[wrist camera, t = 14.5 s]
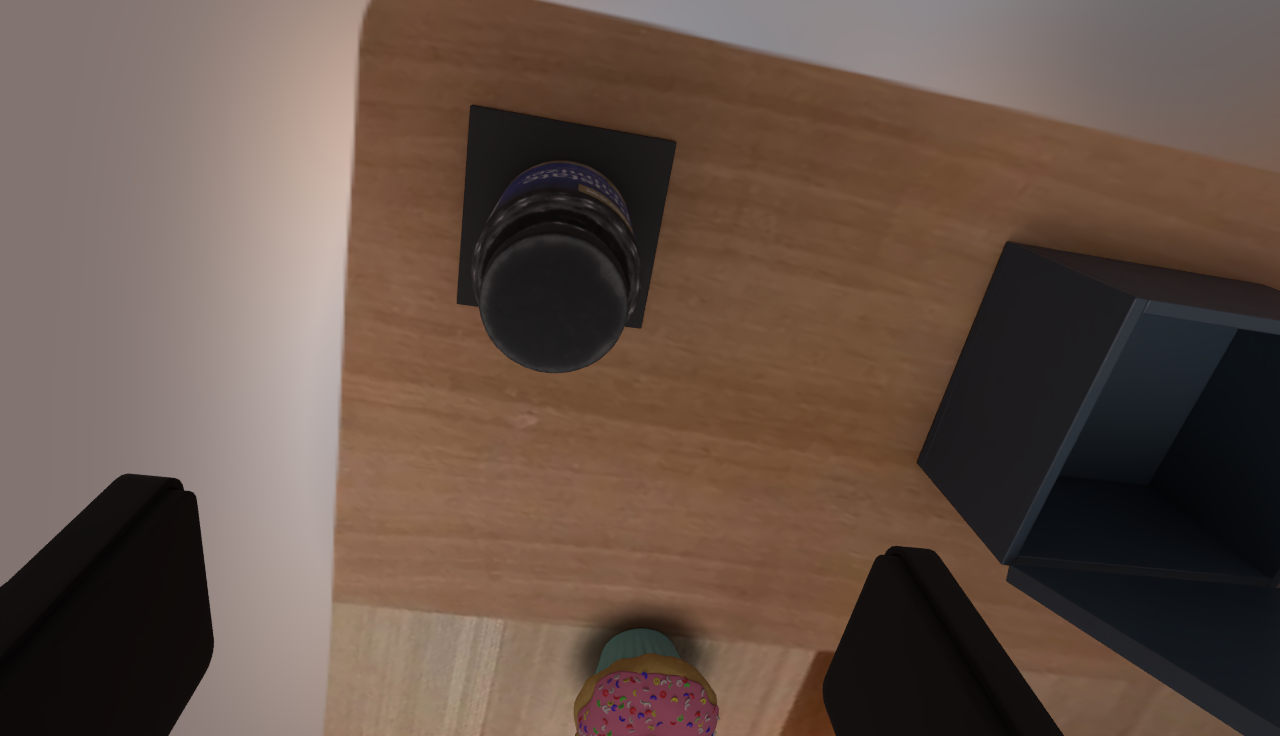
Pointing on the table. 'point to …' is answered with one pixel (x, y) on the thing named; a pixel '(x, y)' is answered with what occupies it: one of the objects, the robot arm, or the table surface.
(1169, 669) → the lid
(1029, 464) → the chest
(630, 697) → the cupcake
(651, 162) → the mat
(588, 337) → the pill bottle
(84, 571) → the robot arm
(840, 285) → the table surface
